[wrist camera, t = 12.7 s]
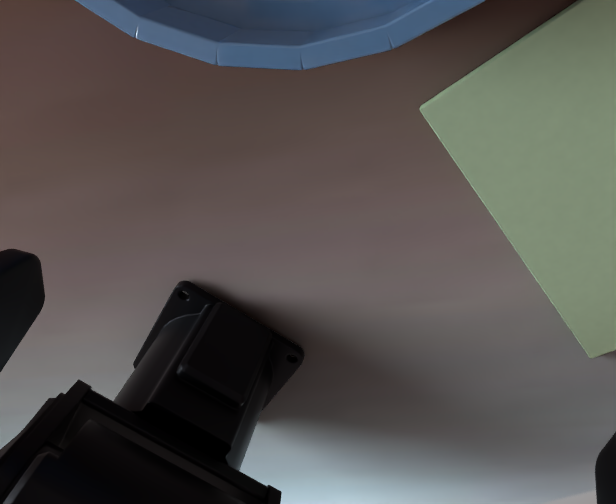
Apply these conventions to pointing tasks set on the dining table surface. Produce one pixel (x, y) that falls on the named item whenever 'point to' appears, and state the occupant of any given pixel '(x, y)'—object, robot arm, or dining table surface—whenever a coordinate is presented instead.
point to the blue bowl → (277, 27)
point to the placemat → (548, 158)
